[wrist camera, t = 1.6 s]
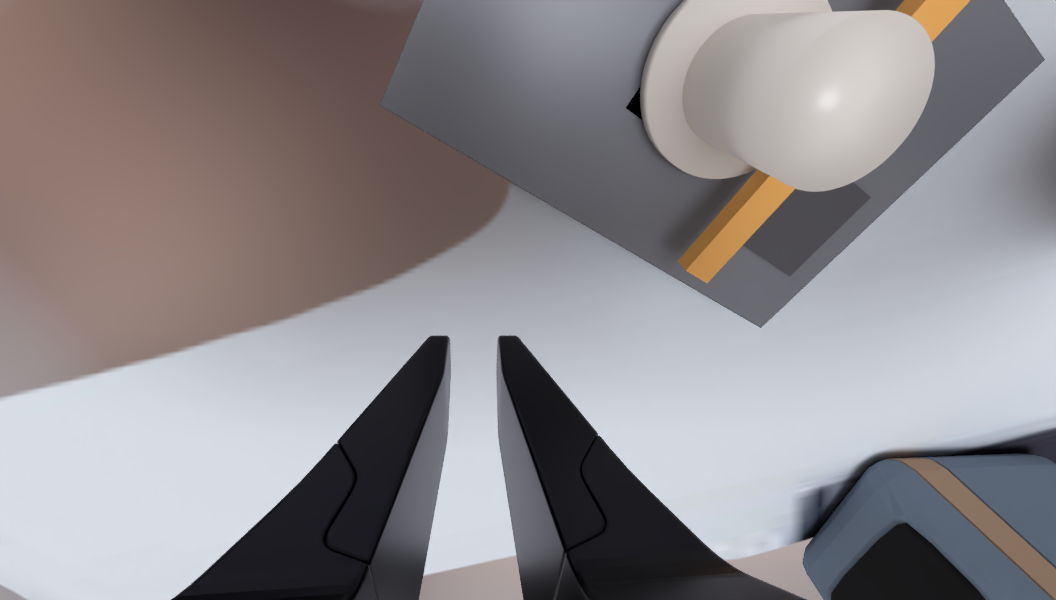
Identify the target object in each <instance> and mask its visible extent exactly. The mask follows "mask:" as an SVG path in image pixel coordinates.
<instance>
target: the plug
mask: <svg viewBox="0 0 1056 600" xmlns="http://www.w3.org/2000/svg"><path fill="white" fill-rule="evenodd" d="M934 70H935V57H934V50H933V45H932V42H931V40H930V37H929V35H928V33H927V32H926V30H925V29H924V27H923V26H922V25H921V24H920V23H919V22H918V21H917V20H916V19H914V18H912V17H911V16H909V15H907V14H904V13H901V12H898V11H891V10H871V11H837V12H832V9H831V7H830V5H829V3H828V1H827V0H683V1H682V2H681V3H680V4H679V5H678V7H677V8H676V9H675V10H674V11H673V12H672V13H671V15H670V16H669V17H668V19H667V20H666V21H665V23H664V24H663V26H662V27H661V29H660V31H659V33H658V34H657V36H656V38H655V40H654V42H653V44H652V46H651V49H650V51H649V53H648V56H647V59H646V62H645V65H644V70H643V75H642V79H641V89H640V107H641V115H642V120H643V123H644V127H645V130H646V132H647V134H648V137H649V139H650V141H651V142H652V144H653V145H654V147H655V148H656V149H657V151H658V152H659V153H660V154H661V155H662V156H663V157H664V158H665V159H667V160H668V161H669V162H670V163H672V164H673V165H674V166H676V167H677V168H679V169H681V170H682V171H684V172H686V173H688V174H691V175H693V176H697V177H701V178H706V179H726V178H731V177H737V176H740V175H743V174H746V173H749V172H751V171H753V170H756V169H758V170H760V171H762V172H764V173H766V174H768V175H770V176H771V177H773V178H775V179H777V180H779V181H781V182H783V183H785V184H787V185H788V186H791V187H793V188H795V189H798V190H803V191H810V192H819V191H827V190H833V189H836V188H840V187H843V186H845V185H848V184H850V183H852V182H854V181H856V180H858V179H860V178H862V177H864V176H865V175H867V174H868V173H870V172H871V171H873V170H874V169H875V168H877V167H878V166H879V165H881V164H882V163H883V162H884V161H885V160H886V159H887V158H889V157H890V156H891V155H892V154H893V153H894V152H895V151H896V149H897V148H898V147H899V146H900V145H901V144H902V143H903V141H904V140H905V139H906V138H907V136H908V135H909V134H910V132H911V131H912V129H913V128H914V126H915V125H916V123H917V121H918V119H919V118H920V116H921V114H922V112H923V110H924V107H925V105H926V103H927V101H928V98H929V94H930V91H931V88H932V83H933V79H934Z"/></svg>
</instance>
